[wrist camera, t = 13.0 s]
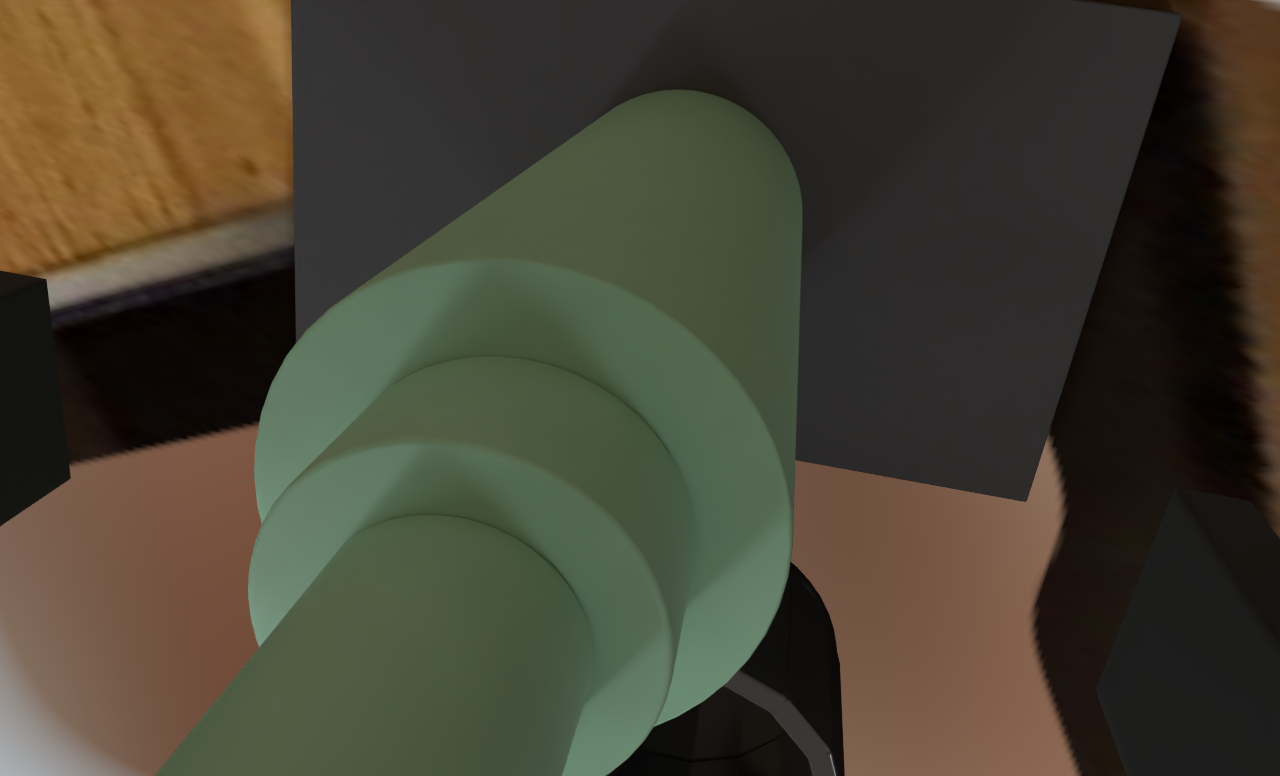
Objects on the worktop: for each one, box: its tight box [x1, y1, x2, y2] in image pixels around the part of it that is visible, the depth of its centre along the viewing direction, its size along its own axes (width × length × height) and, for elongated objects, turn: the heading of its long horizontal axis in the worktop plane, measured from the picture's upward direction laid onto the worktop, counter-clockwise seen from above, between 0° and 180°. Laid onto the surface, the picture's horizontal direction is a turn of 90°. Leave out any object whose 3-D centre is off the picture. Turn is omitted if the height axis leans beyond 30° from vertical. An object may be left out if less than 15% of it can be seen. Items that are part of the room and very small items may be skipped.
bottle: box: [155, 89, 803, 776], centre depth 15 cm, size 6×6×22 cm
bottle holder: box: [606, 562, 845, 776], centre depth 27 cm, size 9×9×6 cm
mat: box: [291, 0, 1182, 502], centre depth 25 cm, size 20×12×1 cm, turn 83°
